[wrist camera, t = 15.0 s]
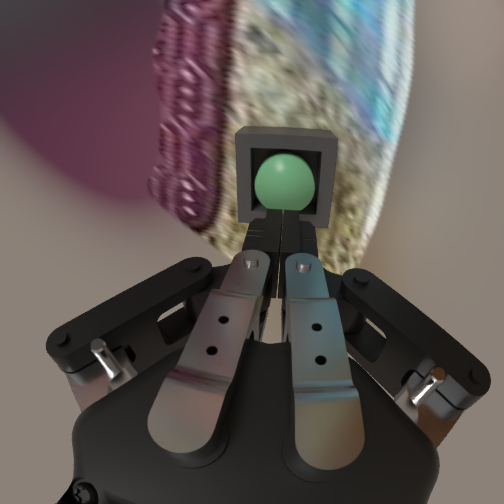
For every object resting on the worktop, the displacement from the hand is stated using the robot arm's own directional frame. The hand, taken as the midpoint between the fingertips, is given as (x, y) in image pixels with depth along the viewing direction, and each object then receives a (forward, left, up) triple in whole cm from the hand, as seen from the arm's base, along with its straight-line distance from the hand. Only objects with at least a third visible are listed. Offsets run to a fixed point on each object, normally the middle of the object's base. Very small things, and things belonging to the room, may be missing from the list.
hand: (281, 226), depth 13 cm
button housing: (0, 0, -10) cm, 10 cm away
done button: (0, 0, -8) cm, 8 cm away
